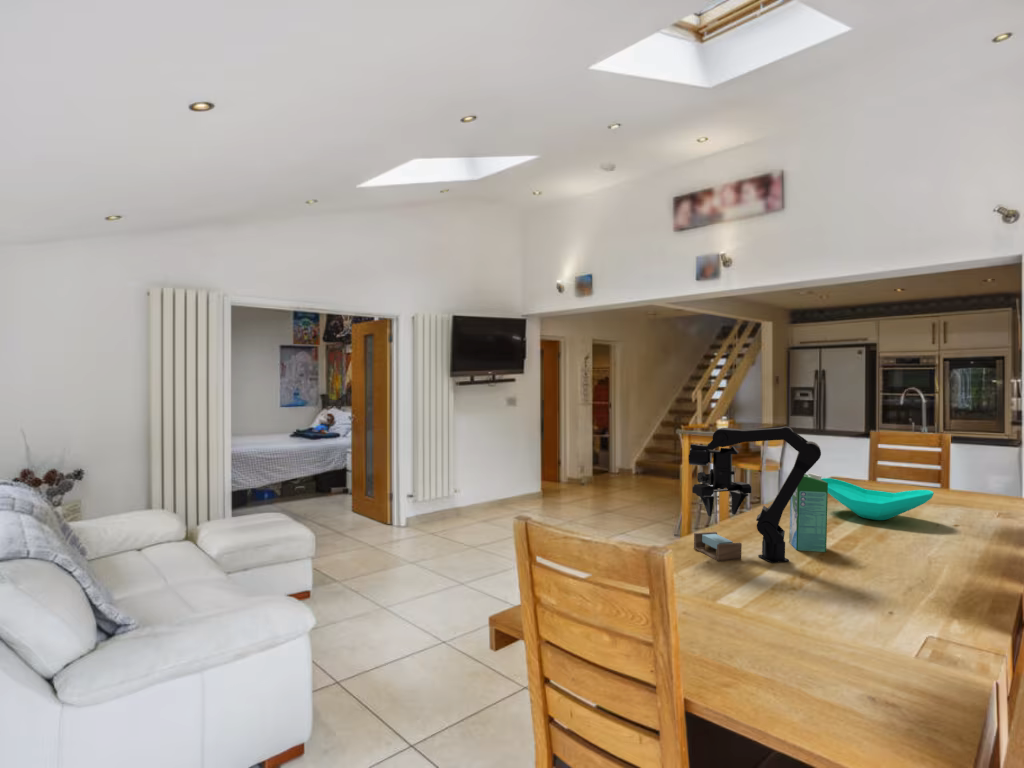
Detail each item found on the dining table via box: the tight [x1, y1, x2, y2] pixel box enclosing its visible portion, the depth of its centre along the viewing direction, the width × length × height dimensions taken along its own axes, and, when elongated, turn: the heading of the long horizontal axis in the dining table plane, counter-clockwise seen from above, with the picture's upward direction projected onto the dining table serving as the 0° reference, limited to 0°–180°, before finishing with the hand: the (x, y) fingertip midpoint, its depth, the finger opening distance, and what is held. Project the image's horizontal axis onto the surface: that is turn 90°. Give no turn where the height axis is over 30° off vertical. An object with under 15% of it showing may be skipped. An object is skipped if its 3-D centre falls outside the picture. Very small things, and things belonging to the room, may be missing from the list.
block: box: [702, 533, 734, 549], centre depth 186 cm, size 9×5×2 cm, turn 16°
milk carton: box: [788, 472, 829, 553], centre depth 193 cm, size 9×9×25 cm
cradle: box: [693, 531, 742, 562], centre depth 186 cm, size 14×8×5 cm, turn 15°
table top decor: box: [821, 477, 935, 521], centre depth 234 cm, size 40×28×13 cm
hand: (721, 515), depth 187 cm, fingers open, 9 cm apart
